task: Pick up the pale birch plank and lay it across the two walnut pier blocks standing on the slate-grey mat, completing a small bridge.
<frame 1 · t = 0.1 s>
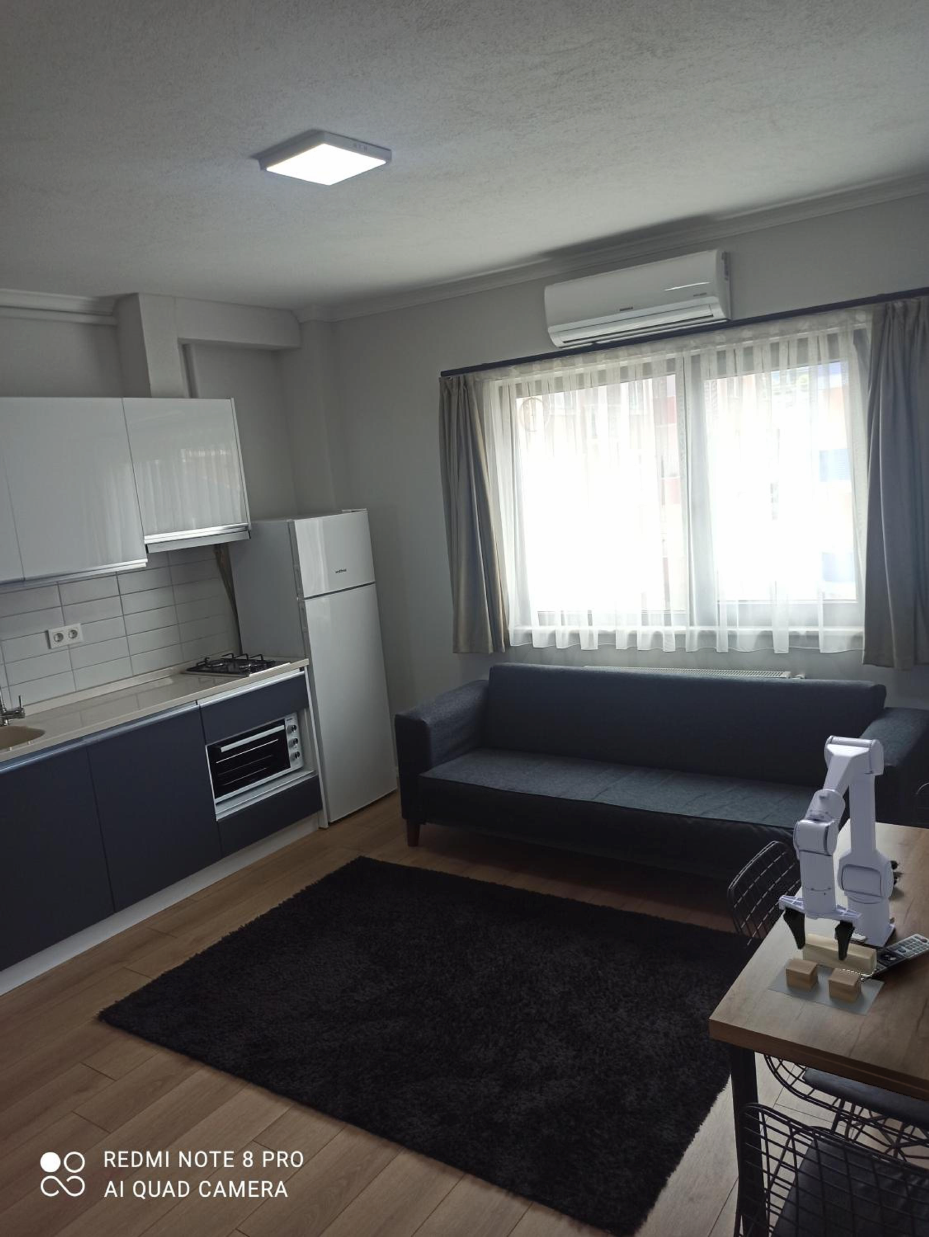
hand: (821, 952, 169), 10 cm above the table, fingers open, 7 cm apart
pier 2: (845, 993, 172), resting on mat
mat: (825, 986, 176), on the table
plank: (839, 966, 182), on the table
robot toy: (872, 881, 215), on the table
pier 1: (802, 982, 177), resting on mat
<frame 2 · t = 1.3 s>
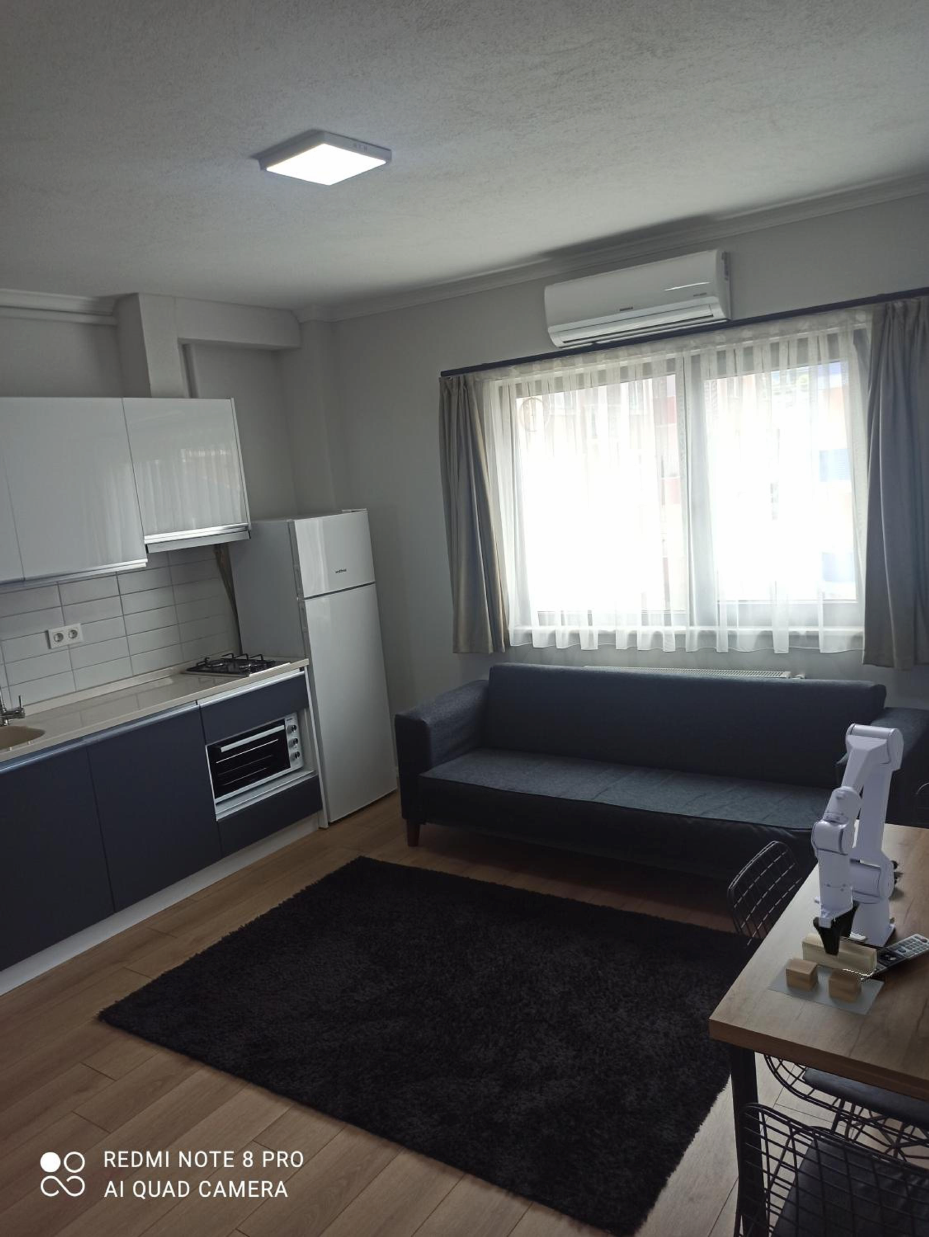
hand: (838, 945, 181), 4 cm above the table, fingers open, 7 cm apart
nothing on the table moved.
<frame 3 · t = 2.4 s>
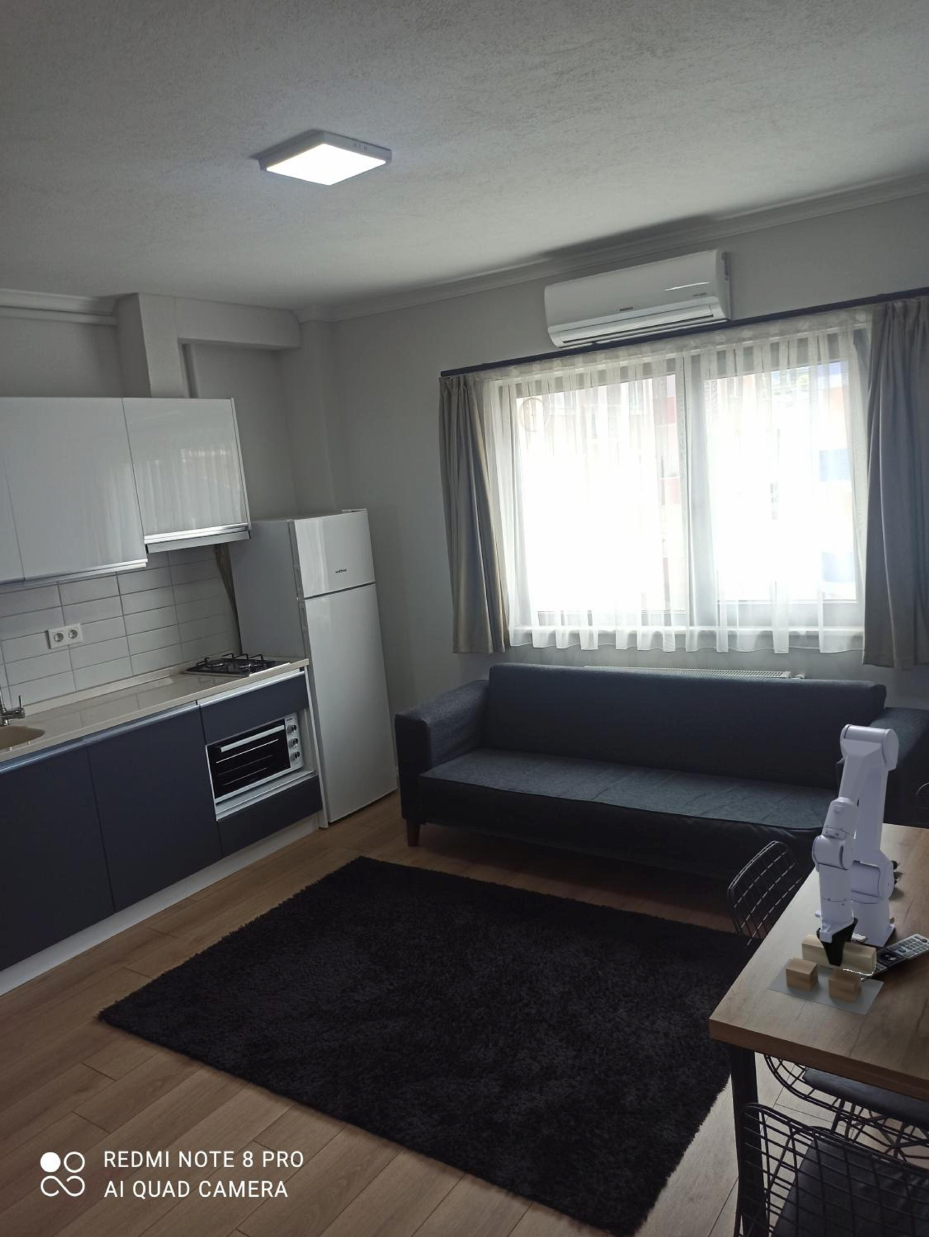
hand: (839, 958, 182), 1 cm above the table, fingers closed on plank, 4 cm apart
plank: (839, 966, 182), on the table, touching gripper
everything else where it was.
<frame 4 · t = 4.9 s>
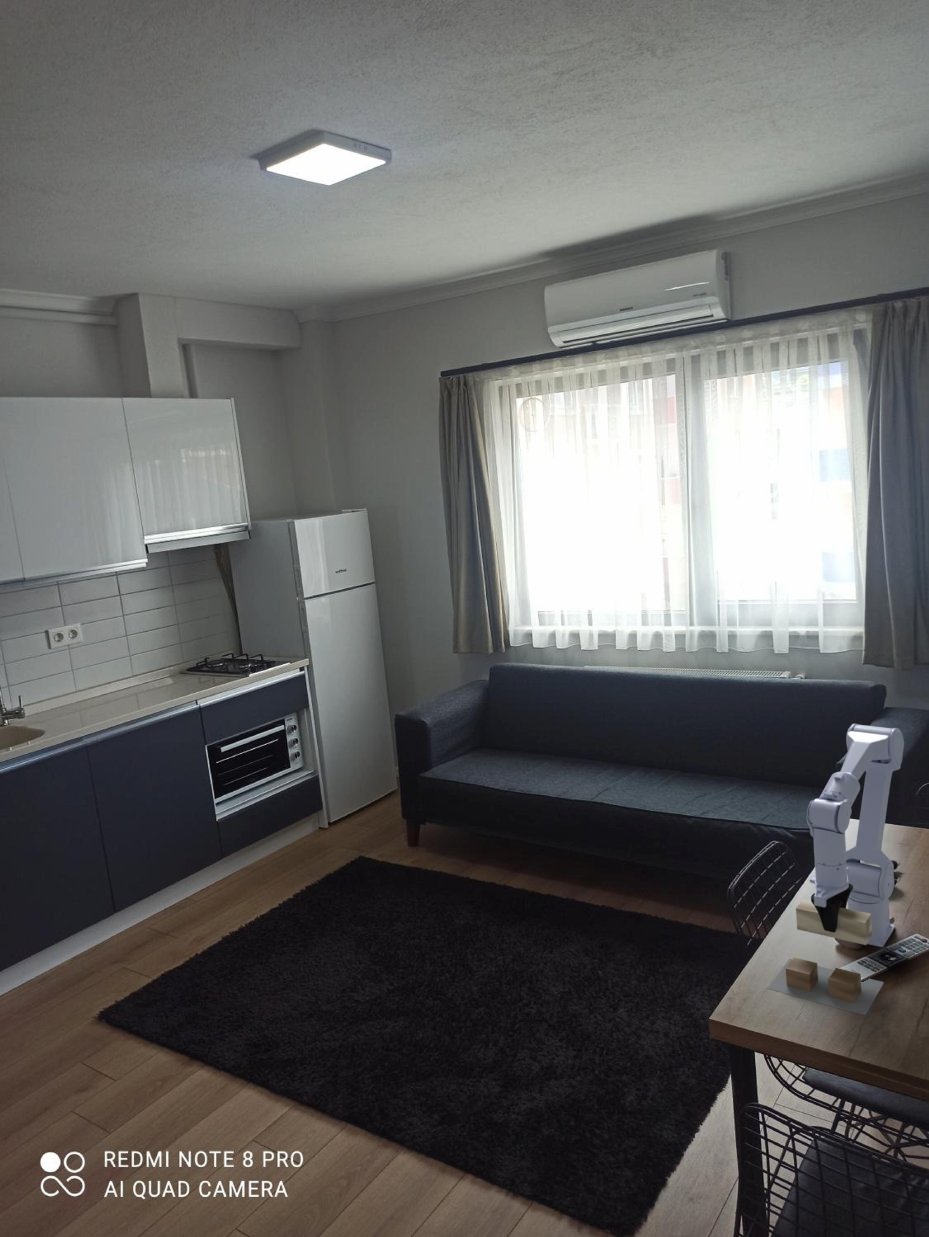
hand: (833, 925, 179), 9 cm above the table, fingers closed on plank, 4 cm apart
plank: (834, 932, 179), point 8 cm above the table, touching gripper
everything else where it was.
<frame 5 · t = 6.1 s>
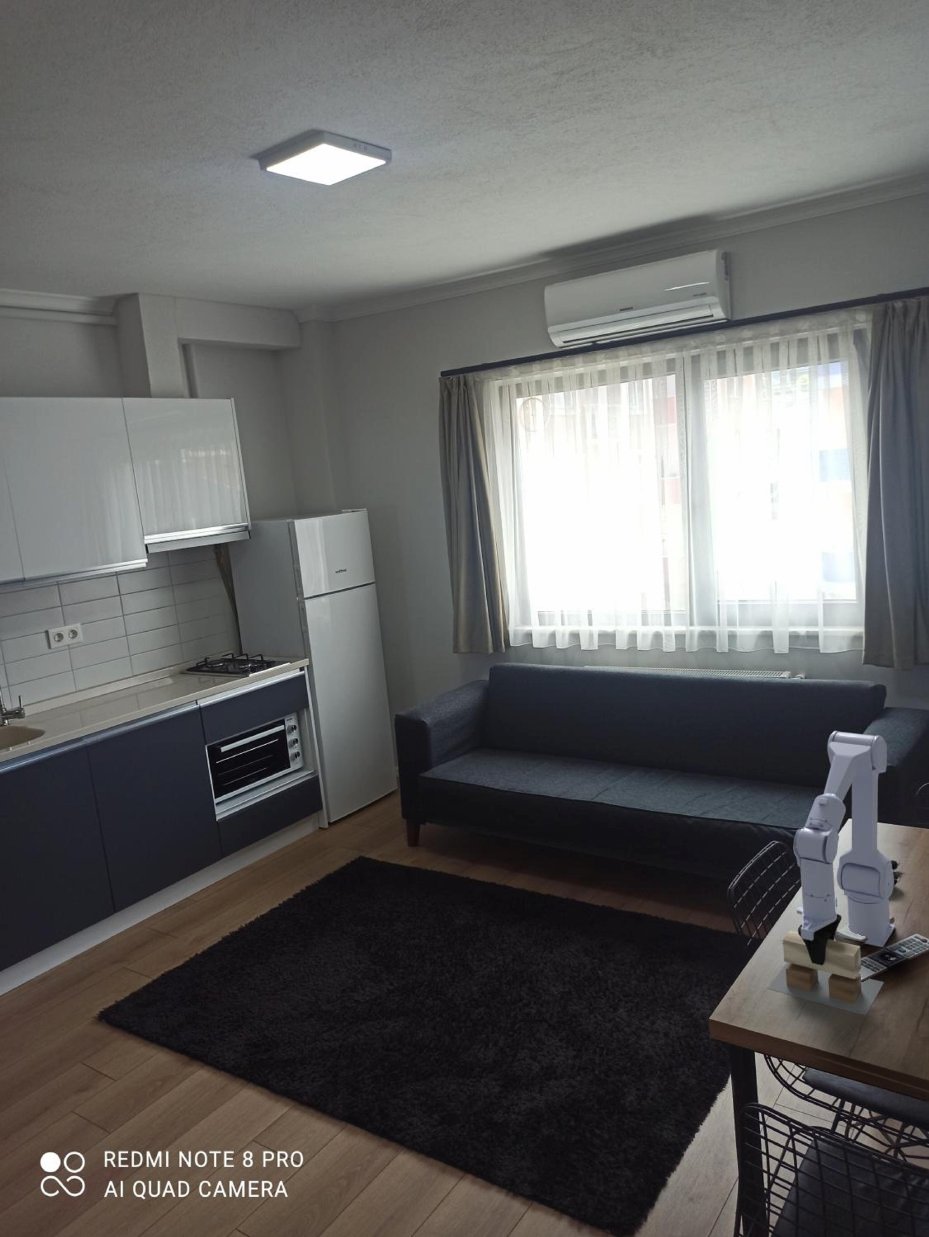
hand: (821, 957, 174), 7 cm above the table, fingers closed on plank, 4 cm apart
plank: (822, 964, 174), point 5 cm above the table, touching gripper
everything else where it was.
when the fingers open (6 cm above the table, at t = 7.0 s): plank stays where it is, resting on pier 2, pier 1.
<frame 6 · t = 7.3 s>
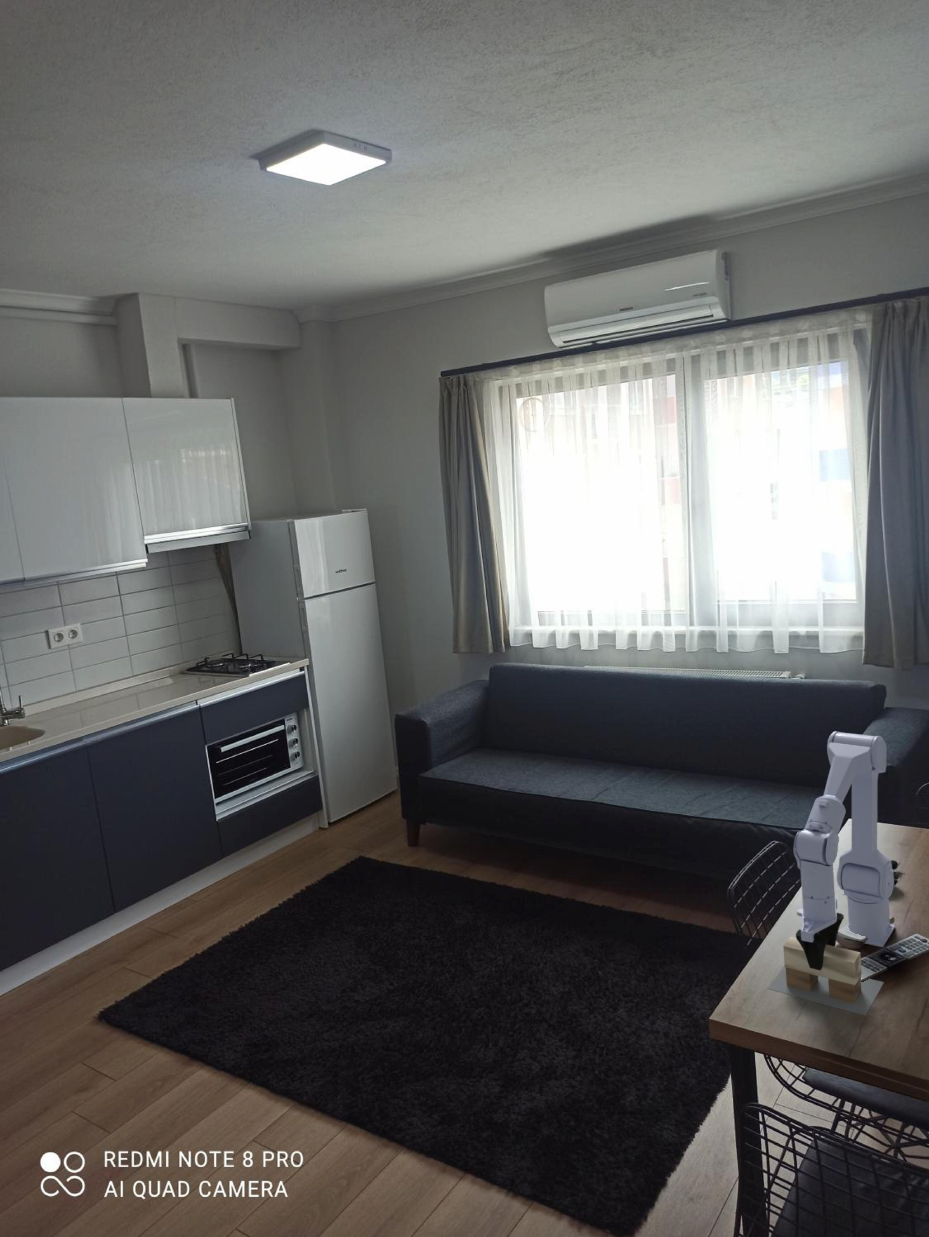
hand: (821, 959, 174), 6 cm above the table, fingers open, 6 cm apart
pier 2: (845, 993, 172), resting on mat, touching plank
plank: (822, 970, 174), point 4 cm above the table, touching pier 2, pier 1
pier 1: (802, 982, 177), resting on mat, touching plank
everything else where it was.
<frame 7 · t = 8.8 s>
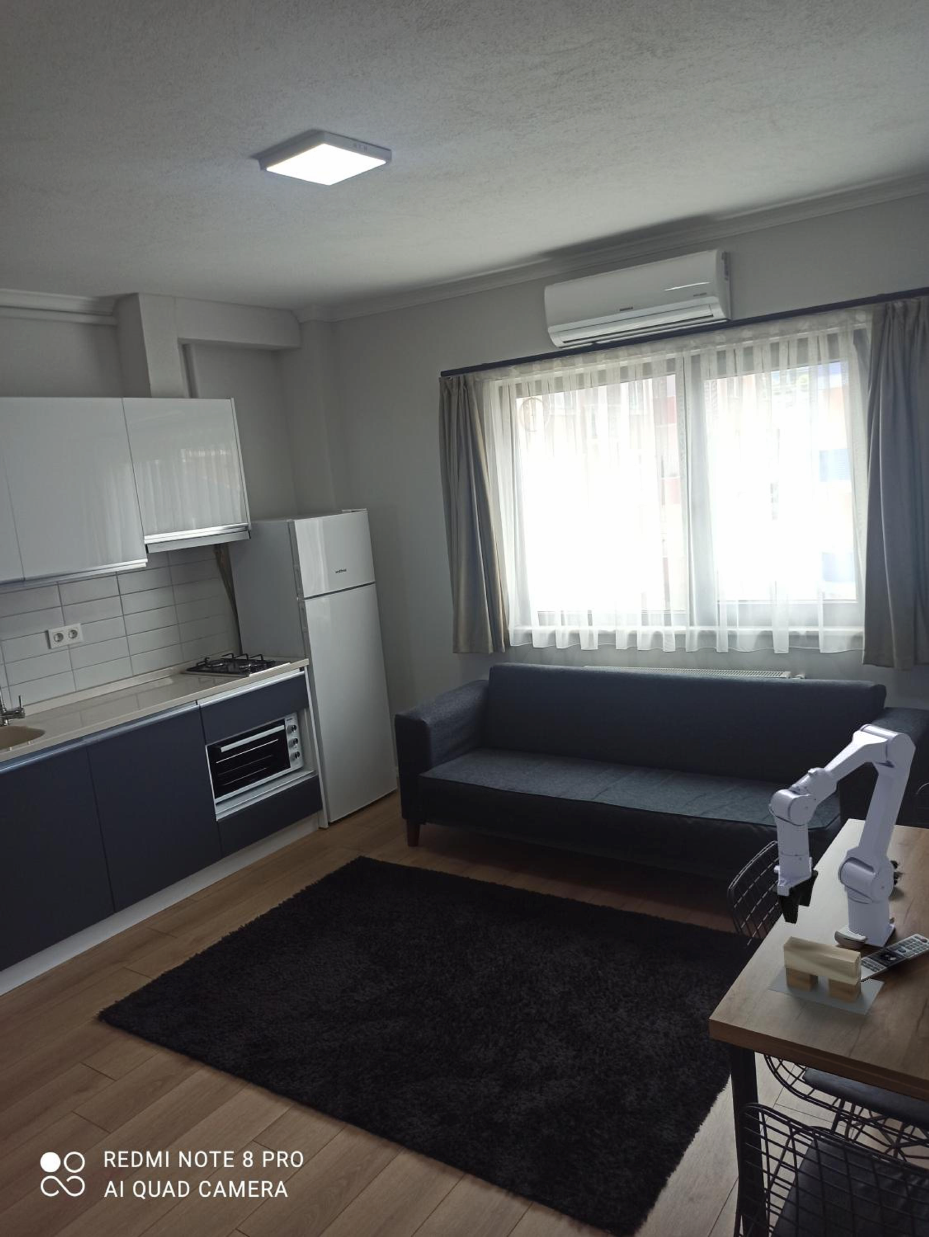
hand: (797, 913, 184), 10 cm above the table, fingers open, 7 cm apart
nothing on the table moved.
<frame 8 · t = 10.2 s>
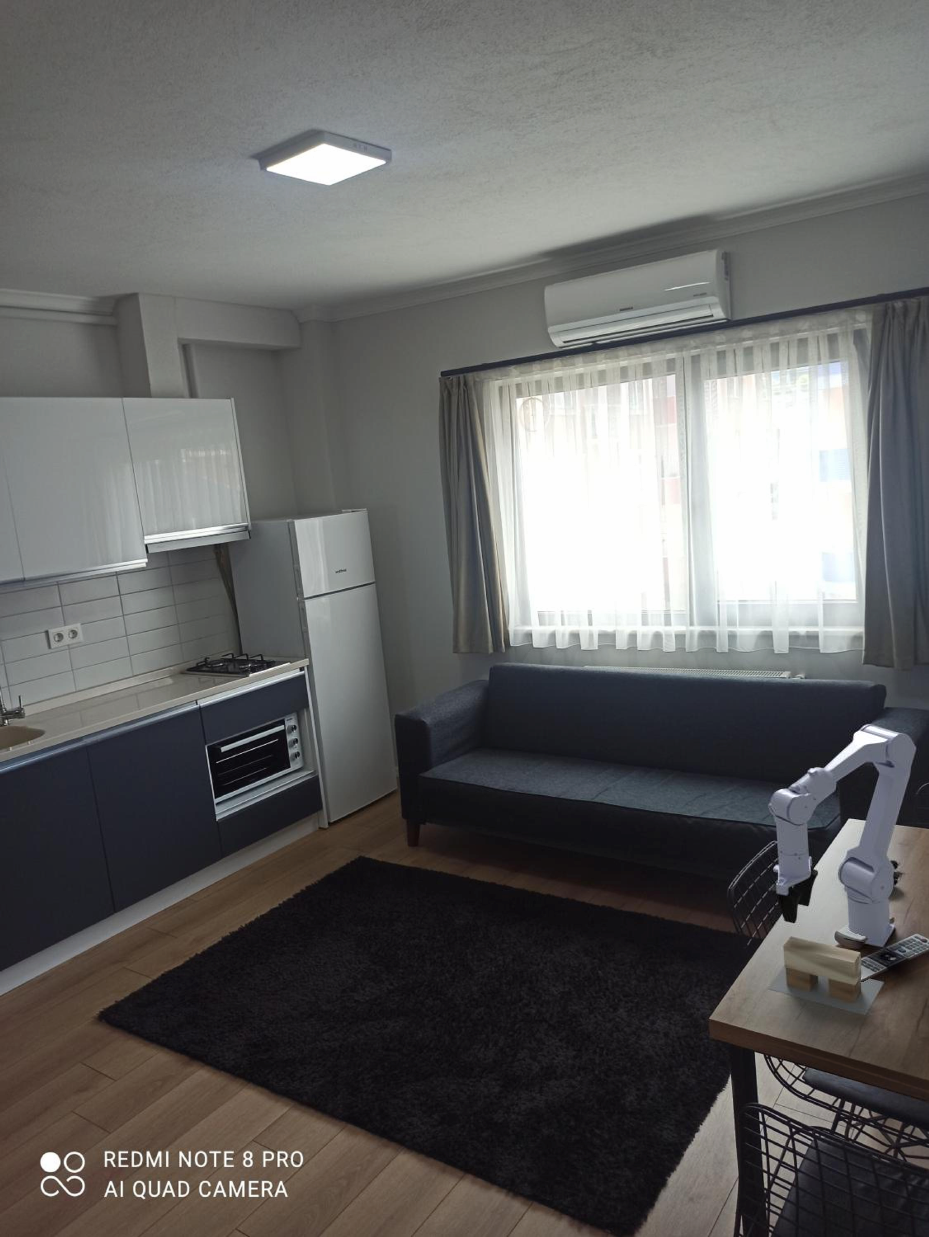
hand: (796, 913, 185), 10 cm above the table, fingers open, 7 cm apart
nothing on the table moved.
at the end: plank 0.0 cm from the target spot, point 3.8 cm above the table; plank tilted 0°; the gripper is holding nothing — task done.
